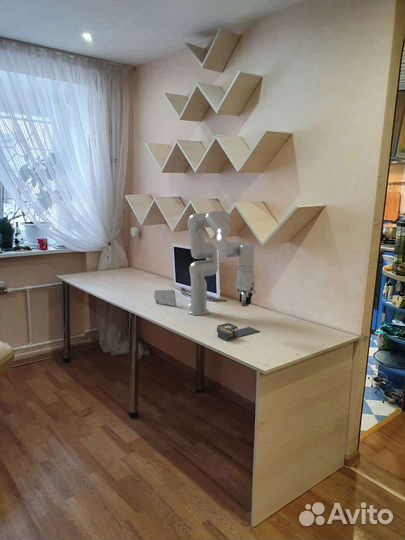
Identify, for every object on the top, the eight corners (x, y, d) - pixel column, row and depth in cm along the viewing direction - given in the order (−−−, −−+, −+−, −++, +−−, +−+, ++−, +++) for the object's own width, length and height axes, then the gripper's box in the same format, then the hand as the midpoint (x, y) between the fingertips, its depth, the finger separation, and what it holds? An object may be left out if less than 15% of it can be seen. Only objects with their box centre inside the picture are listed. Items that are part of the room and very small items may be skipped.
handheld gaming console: (157, 305, 269) (176, 305, 262) (155, 306, 267) (174, 307, 260) (155, 289, 268) (174, 288, 261) (153, 289, 266) (172, 289, 258)
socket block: (217, 337, 207) (218, 329, 206) (228, 334, 211) (228, 327, 211) (226, 341, 202) (226, 333, 201) (237, 338, 206) (237, 331, 205)
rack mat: (228, 332, 214) (228, 332, 214) (249, 327, 223) (249, 326, 223) (238, 337, 208) (238, 336, 207) (259, 331, 216) (259, 330, 216)
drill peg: (239, 305, 212) (240, 288, 211) (244, 304, 215) (245, 287, 213) (245, 306, 209) (245, 289, 208) (250, 305, 212) (251, 288, 210)
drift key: (216, 332, 211) (216, 327, 211) (220, 331, 213) (220, 326, 212) (229, 337, 203) (229, 332, 203) (233, 336, 205) (233, 331, 204)
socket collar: (217, 326, 223) (217, 325, 223) (228, 324, 228) (228, 322, 228) (226, 330, 217) (226, 329, 217) (237, 327, 222) (237, 326, 222)
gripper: (230, 266, 213) (229, 300, 216) (252, 271, 200) (250, 307, 203) (240, 265, 217) (239, 298, 221) (263, 270, 204) (261, 305, 208)
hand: (245, 302), depth 212 cm, fingers closed on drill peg, 4 cm apart
